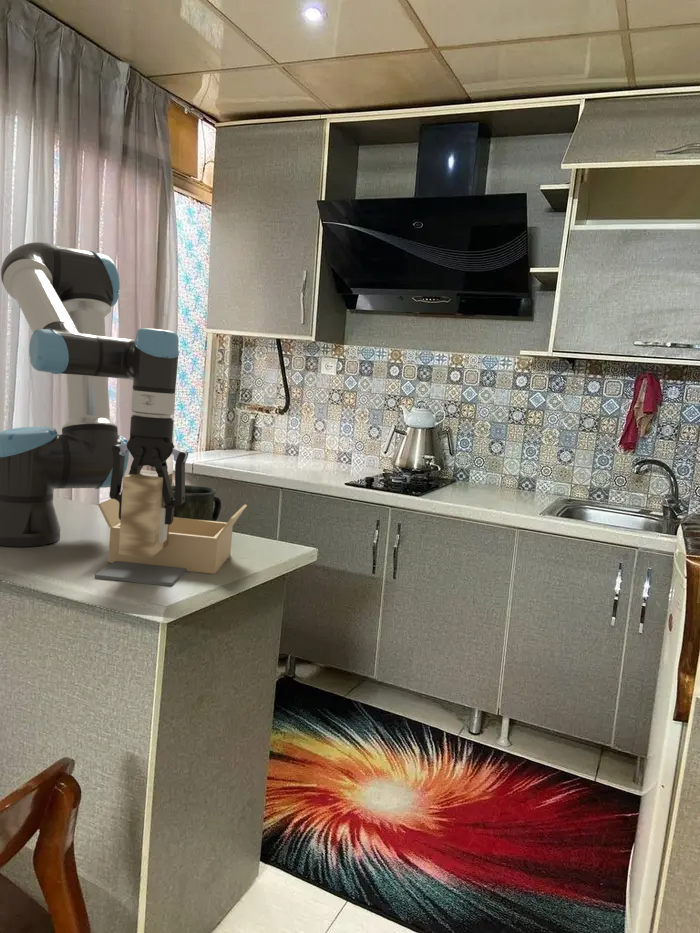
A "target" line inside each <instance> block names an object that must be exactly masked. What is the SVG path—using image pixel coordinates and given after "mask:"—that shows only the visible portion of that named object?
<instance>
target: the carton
mask: <svg viewBox="0 0 700 933" xmlns="http://www.w3.org/2000/svg"><path fill="white" fill-rule="evenodd" d="M97 505H98V507H99V510H100V512H101V514H102V516H103V518H104V520H105V522H106V524H107V526H108V528H110V529H109V541H108V542H109V545H108V561H107V562H108V563H109V564H111V563H113V562H114V561H122V562H131V563H140V564H150V565H159V566H168V567H178V568H186V572H195V573H205V574H212V575H215V574H216V573H217V572H218V571H219V569H220V568H221V567H222V566H223V565H224V563H225V562H226V561H227V559H229V557H230V556H231V553H232V552H231V551H232V537H233V526H234V525H235V523H236V522H237V521H238V519H239V517H240V516H241V515H242V513H243V512H244V510H245V509H246V508H247V506H248V505H247V504H245V503H244V505H242V506H241V507H240V508H239V509H238V510H237V511H236V512H235V513H234V514H233V515H232V516H231V517H230V518H229V519H228V521H227V522H225V521H217V520H216V521H206V520H197V519H188V518H178V517H174V518H173V522H172V524H170V525H169V536H168V545H167V546H166V547H164V548H163V549H162V550H160V551H159V552H158V553H156V554H155V555H154V556H153V557H145V556H135V555H126V554H119V539H120V522H121V520H119V502H118V501H117V500H115V499H111V498H110V499H107V500H105V501H103V502H100V503H98V504H97Z"/></svg>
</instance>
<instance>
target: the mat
mask: <svg viewBox="0 0 700 933" xmlns="http://www.w3.org/2000/svg"><path fill="white" fill-rule="evenodd" d="M186 572H187V571H186V568H178V567H168V566H159V565H150V564H140V563H131V562H122V561H114V562H113V563H109V564H108V565H107V566H105V567H104V568H102V569H101V570H100V571H98V572H97V573H95V574H94V579H103V580H111V581H119V582H130V583H137V584H138V583H140V584H147V585H148V584H149V585H158V586H165V587H166V586H167V587H172V586H173V585H175V583H176V582H177V581H178V580H179V579H180V578H181V577H182V576H183V575H184V574H185V573H186Z"/></svg>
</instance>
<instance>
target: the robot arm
mask: <svg viewBox="0 0 700 933" xmlns="http://www.w3.org/2000/svg"><path fill="white" fill-rule="evenodd" d="M119 276H120V275H119V272H118V269H117V265H116V264H115V262H114V261H113V260H112V259H111V257H109V256H108V255H106V254H102V253H98V252H95V251H92V250H83V249H78V248H73V247H67V246H61V245H58V244H57V245H56V244H51V243H47V242H36V241H35V242H29V243H25V244H22V245H19V246H18V247H15V249H13V250H11V252H9V253H8V254H7V256H6V257H5V258H4V260H3V261H2V264H1V268H0V277H1V278H0V279H1V282H2V285H3V287H4V289H5V291H6V293H8V295H9V296H10V297H11V298H13V299H14V300H16V302H17V304H18V306H19V308H20V309H21V312H22V314H23V316H24V318H25V320H26V322H27V324H28V326H29V328H30V330H31V332H32V333H31V336H30V340H29V345H28V346H29V347H28V348H29V349H28V353H29V355H28V356H29V360H30V361H29V362H30V364H31V366H32V368H33V369H34V370H36V371H38V372H44V373H50V374H54V375H66V384H67V389H66V390H67V408H68V421H66V423H65V424H64V425H62V427H61V434H58V432H57V429H56V428H54V427H53V426H51V427H50V426H25V427H24V426H23V427H15V428H9V429H5V430H2V431H0V546H3V547H6V546H7V547H37V546H43V545H44V546H45V545H50V544H52V543H56V542H58V541H60V540H61V526H60V525H61V524H60V522H59V518H58V516H57V512H56V509H55V505H54V492H55V490H57V489H67V490H68V489H96V490H99V489H105V488H109V498H110V499H115V500H117V501H118V502H119V520H121V506H122V486H123V477H124V476H126V473H127V472H126V471H127V469H128V465H129V459H130V454H131V456H132V458H133V460H132V462H131V465H130V470H129V472H128V474H127V475H129V474H135V475H136V474H138V473H140V471H141V470H143V467H145V466H150V467H152V468H154V469H155V470H154V471H156V472H157V474H158V477H163V487H162V495H163V499H164V503H165V506H163V507H161V513H160V528H159V543H163V542H164V541H166V540H167V529H168V525H170V524H172V522H173V518H174V507H175V506H178V505H181V504H182V503H184V502H185V485H186V462H187V460H188V457H189V452H188V451H187V450H180V449H177V448H175V445H174V443H173V436H174V434H173V433H174V419H173V417H171V416H173V415H174V414H175V403H176V388H177V375H178V374H177V373H178V363H179V356H180V351H179V336H178V334H177V333H176V332H174V331H173V330H172V331H171V330H164V329H159V328H158V329H157V328H149V327H148V328H146V327H144V328H143V327H140V328H138V330H137V331H136V334H135V339H132V338H131V339H130V338H123V337H114V336H113V337H112V336H106V322H105V321H106V320H105V317H106V316H108V315H109V314H110V313H111V311H112V307H114V306H116V304H117V302H118V300H119V298H120V297H119V296H120V293H119V291H120V290H121V289H120V288H121V286H120V284H121V283H120V277H119ZM108 378H109V379H110V378H112V379H124V380H131V381H132V380H133V381H132V382H133V383H132V396H131V398H132V399H131V411H132V413H134V414H132V415H131V417H130V428H129V439H128V440H127V438H126V437H125V436H122V435H121V434H120V435H119V431H118V425H116V423H115V422H114V421H113V420H111V415H110V414H111V413H110V394H109V379H108ZM171 456H173V460H174V462H175V464H174V486H175V499H174V495H173V491H172V487H171V483H170V479H169V475H168V473H169V471H168V470H169V469H168V463H167V460H168V459H169V458H170V457H171Z"/></svg>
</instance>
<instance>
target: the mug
mask: <svg viewBox="0 0 700 933" xmlns="http://www.w3.org/2000/svg"><path fill="white" fill-rule="evenodd" d="M172 491H173V495H174V499H175V485H172ZM216 494H217V490H216V489H215V488H212V487H209V486H203V485H192V484H191V485H190V484H185V502H184V503H182V504H181V505H178V506H175V507H174V517H178V518H188V519H197V520H206V521H216V522H217V521H218V520H217V519H219V515H220V513H221V508H222V501H221V498H220V497H218V496H215V495H216Z"/></svg>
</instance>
